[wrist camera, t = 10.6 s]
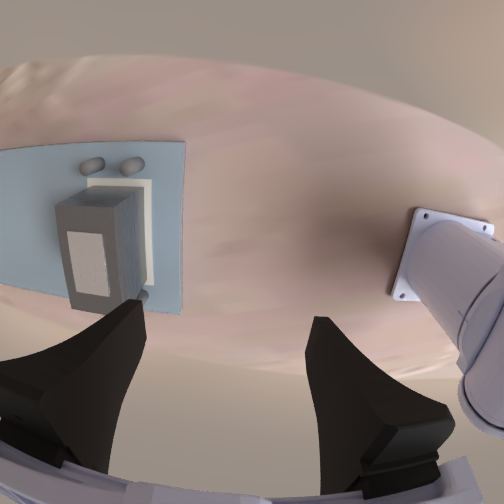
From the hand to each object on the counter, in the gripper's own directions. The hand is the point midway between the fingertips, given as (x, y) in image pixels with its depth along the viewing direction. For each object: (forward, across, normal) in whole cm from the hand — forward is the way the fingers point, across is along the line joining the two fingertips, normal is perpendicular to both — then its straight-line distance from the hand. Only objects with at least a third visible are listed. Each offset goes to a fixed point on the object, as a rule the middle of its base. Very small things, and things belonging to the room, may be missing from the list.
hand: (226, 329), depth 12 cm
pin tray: (+10, +14, 0) cm, 17 cm away
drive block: (+9, +8, 0) cm, 13 cm away
